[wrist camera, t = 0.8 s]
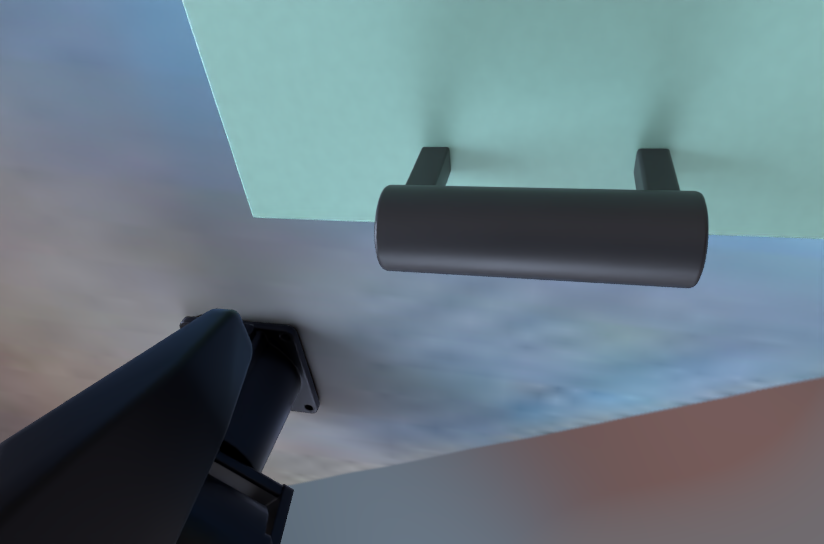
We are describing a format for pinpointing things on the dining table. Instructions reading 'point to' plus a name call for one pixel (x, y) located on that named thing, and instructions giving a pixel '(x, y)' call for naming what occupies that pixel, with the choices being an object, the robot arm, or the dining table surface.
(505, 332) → the dining table surface
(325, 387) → the dining table surface
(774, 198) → the lunchbox lid
